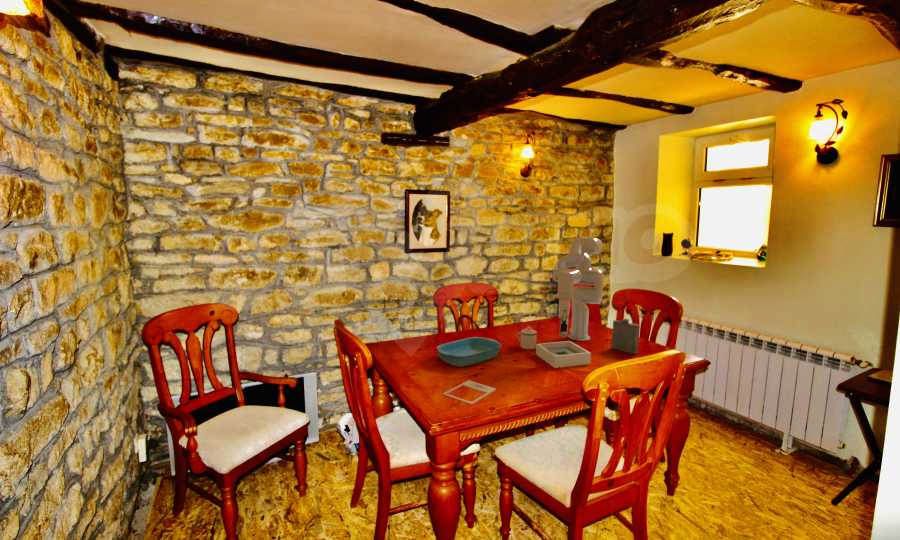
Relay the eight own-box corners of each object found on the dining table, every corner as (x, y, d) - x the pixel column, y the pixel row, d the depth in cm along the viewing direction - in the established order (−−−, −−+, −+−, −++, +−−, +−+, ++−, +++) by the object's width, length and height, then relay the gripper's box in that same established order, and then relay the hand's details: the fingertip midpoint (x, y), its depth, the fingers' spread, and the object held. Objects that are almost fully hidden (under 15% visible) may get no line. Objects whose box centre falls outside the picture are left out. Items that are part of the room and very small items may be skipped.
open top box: (536, 354, 232) (536, 343, 231) (569, 351, 237) (569, 340, 236) (554, 368, 213) (555, 356, 212) (590, 364, 218) (590, 352, 217)
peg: (557, 335, 224) (558, 316, 223) (564, 334, 225) (565, 315, 224) (561, 337, 220) (562, 318, 219) (568, 336, 222) (569, 317, 220)
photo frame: (495, 388, 187) (471, 402, 174) (495, 390, 188) (471, 405, 174) (468, 379, 196) (443, 393, 183) (468, 382, 197) (443, 395, 183)
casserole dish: (479, 345, 247) (479, 333, 246) (508, 356, 230) (509, 343, 229) (428, 360, 223) (428, 347, 222) (456, 373, 207) (456, 358, 205)
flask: (635, 354, 232) (637, 322, 230) (610, 348, 243) (611, 317, 240) (638, 353, 235) (640, 321, 232) (613, 346, 245) (615, 316, 242)
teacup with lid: (539, 346, 245) (540, 326, 243) (530, 350, 238) (531, 330, 236) (521, 342, 253) (522, 323, 251) (512, 346, 246) (513, 326, 244)
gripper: (557, 291, 229) (556, 325, 231) (557, 298, 213) (555, 334, 215) (572, 292, 227) (570, 326, 230) (573, 299, 211) (571, 335, 214)
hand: (563, 329), depth 222 cm, fingers closed on peg, 4 cm apart
